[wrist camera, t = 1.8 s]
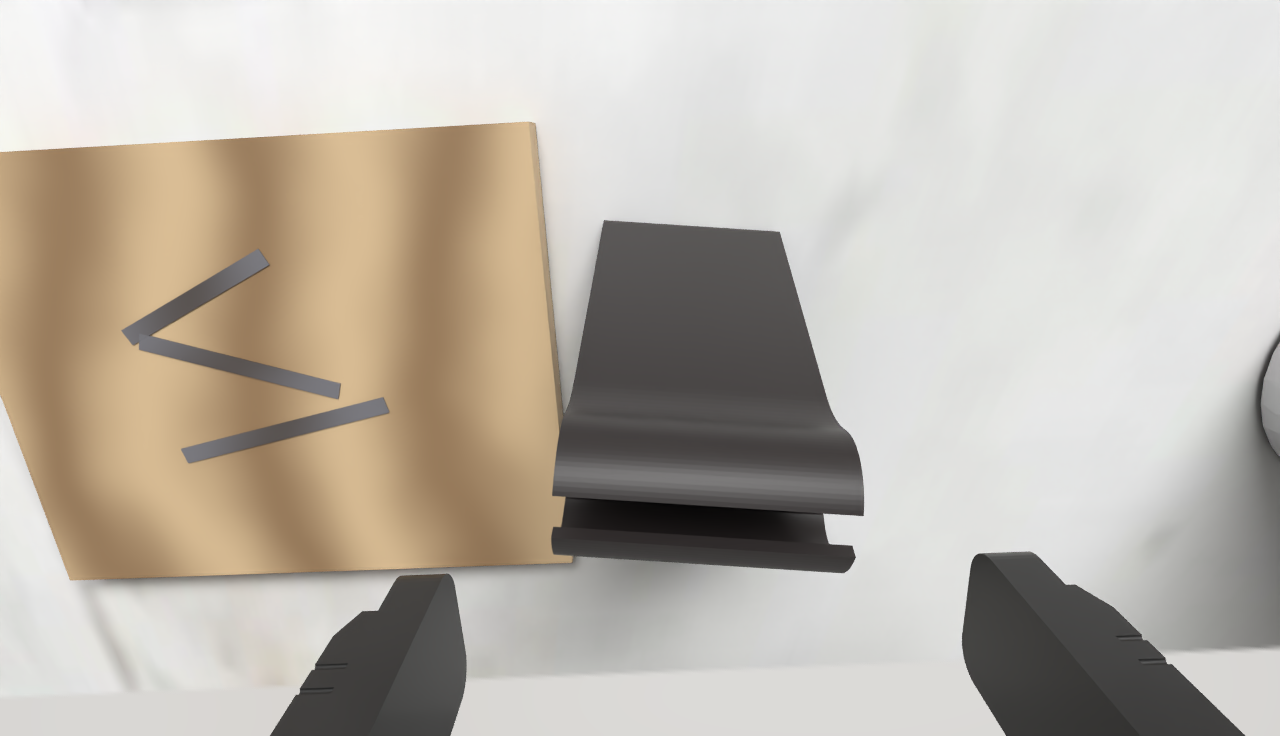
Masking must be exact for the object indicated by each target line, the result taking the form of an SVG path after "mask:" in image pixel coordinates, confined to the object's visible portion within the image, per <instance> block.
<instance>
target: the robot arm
mask: <svg viewBox="0 0 1280 736" xmlns="http://www.w3.org/2000/svg"><path fill="white" fill-rule="evenodd" d="M1261 411H1262V421H1263V427H1264V430H1265V432H1266V435H1267V437H1268V440H1269V442H1270V445H1271V447H1272V448H1273V449H1274V451H1275V452H1276V453H1277V454H1278V456H1279V457H1280V343H1279V344H1278V346H1277V348H1276V349H1275V351H1274V353H1273V355H1272V358H1271V361H1270V364H1269V366H1268V369H1267V372H1266V374H1265V377H1264V382H1263V390H1262V397H1261ZM962 648H963V655H964V659H965V663H966V666H967V670H968V672H969V675H970V677H971V679H972V681H973V683H974V684H975V686H976V688H977V689H978V691H979V692H980V694H981V696H982V697H983V699H984V701H985V702H986V704H987V705H988V707H989V709H990V710H991V712H992V713H993V715H994V717H995V718H996V720H997V721H998V723H999V725H1000V726H1001V728H1002V730H1003V731H1004V733H1005V735H1006V736H1245V735H1244V734H1243V733H1242V732H1241V731H1240V730H1239V729H1238V728H1237V727H1236V726H1235V725H1234V724H1233V723H1231V722H1230V720H1229V719H1227V718H1226V717H1225V716H1224V715H1223V714H1222V713H1221V712H1220V711H1219V710H1218V709H1217V708H1216V707H1215V706H1214V705H1213V704H1212V703H1211V702H1210V701H1209V700H1208V699H1207V698H1206V697H1205V696H1204V695H1203V694H1202V693H1201V692H1200V691H1199V690H1198V689H1197V688H1196V687H1194V686H1193V684H1191V682H1189V681H1188V680H1187V679H1186V678H1185V677H1184V676H1183V675H1182V674H1181V673H1180V672H1179V671H1178V670H1177V669H1176V668H1175V667H1174V666H1173V665H1172V664H1167V663H1166V660H1165V657H1164V656H1163V655H1162V654H1161V653H1160V652H1159V651H1158V650H1157V649H1156V648H1155V647H1154V646H1153V645H1151V644H1150V643H1149V642H1148V641H1147V640H1145V641H1143V639H1142V636H1141V634H1140V633H1139V632H1138V631H1137V630H1136V629H1135V628H1134V627H1133V626H1132V625H1131V624H1130V623H1129V622H1128V621H1127V620H1126V619H1125V618H1124V617H1123V616H1122V615H1121V614H1120V613H1119V612H1118V611H1117V610H1116V609H1115V608H1113V607H1112V606H1110V605H1109V604H1107V603H1105V602H1104V601H1102V600H1100V599H1098V598H1097V597H1095V596H1093V595H1092V594H1090V593H1088V592H1087V591H1085V590H1083V589H1082V588H1080V587H1078V586H1077V585H1065V584H1064V583H1063V582H1062V581H1061V579H1060V578H1059V577H1058V576H1057V575H1056V574H1055V573H1054V572H1053V571H1052V570H1051V569H1050V568H1049V567H1048V566H1047V565H1046V564H1045V563H1044V562H1043V561H1042V560H1041V559H1040V558H1039V557H1038V556H1037V555H1036V554H1034V553H1032V552H1007V553H983V554H977V555H976V556H975V557H974V559H973V561H972V564H971V569H970V577H969V585H968V593H967V601H966V609H965V617H964V625H963V633H962ZM465 682H466V652H465V645H464V639H463V633H462V627H461V621H460V615H459V609H458V603H457V597H456V590H455V585H454V581H453V579H452V577H451V575H449V574H433V575H409V576H400V577H398V578H397V579H396V581H395V582H394V584H393V586H392V587H391V589H390V591H389V593H388V594H387V596H386V598H385V600H384V601H383V603H382V605H381V607H380V608H379V610H378V611H362V612H361V613H360V614H359V615H358V616H356V617H355V618H354V619H353V620H352V621H350V622H349V623H348V624H347V625H346V626H345V627H343V628H342V629H341V630H340V631H339V632H338V633H336V634H335V635H334V636H333V637H332V639H331V641H330V642H329V644H328V645H327V647H326V648H325V650H324V652H323V653H322V655H321V656H320V658H319V659H318V661H317V663H316V664H315V670H311V672H310V674H309V675H308V677H307V678H306V680H305V682H304V683H303V685H302V686H301V688H300V694H299V695H296V696H295V697H294V699H293V700H292V702H291V704H290V705H289V707H288V708H287V710H286V711H285V713H284V715H283V716H282V718H281V719H280V721H279V723H278V724H277V726H276V727H275V729H274V730H273V732H272V733H271V735H270V736H450V735H451V732H452V729H453V726H454V723H455V720H456V716H457V713H458V710H459V707H460V704H461V701H462V698H463V694H464V688H465Z"/></svg>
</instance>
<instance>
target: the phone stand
mask: <svg viewBox="0 0 1280 736" xmlns="http://www.w3.org/2000/svg"><path fill="white" fill-rule="evenodd" d="M552 496H560V497H565V504H564V512H563V518H562V524H561V527H553V530H552V535H551V545H552V552H553V554H554V555H567V556H583V557H598V558H614V559H629V560H645V561H661V562H676V563H692V564H707V565H723V566H739V567H754V568H770V569H785V570H801V571H817V572H832V573H845V572H846V571H848V570H849V569H850V567H851V566H852V564H853V562H854V560H855V558H856V557H855V554H854V550H853V546H848V545H832V544H829V543H828V540H827V536H826V531H825V525H824V516H823V513H825V514H840V515H856V516H864V487H863V476H862V469H861V463H860V458H859V454H858V451H857V448H856V445H855V442H854V440H853V438H852V437H851V435H850V434H849V433H848V432H847V431H846V430H845V429H843V428H842V427H841V426H840V425H839V423H838V422H837V420H836V419H835V417H834V415H833V413H832V411H831V409H830V406H829V403H828V400H827V397H826V393H825V390H824V386H823V383H822V379H821V376H820V372H819V369H818V365H817V362H816V358H815V355H814V351H813V348H812V344H811V341H810V337H809V334H808V330H807V326H806V323H805V319H804V316H803V312H802V309H801V305H800V302H799V298H798V295H797V291H796V288H795V284H794V281H793V277H792V274H791V270H790V267H789V263H788V260H787V256H786V253H785V249H784V246H783V242H782V239H781V235H780V232H775V231H759V230H744V229H729V228H713V227H698V226H683V225H668V224H652V223H637V222H622V221H606V220H604V223H603V228H602V234H601V239H600V244H599V250H598V255H597V261H596V266H595V272H594V277H593V282H592V288H591V293H590V299H589V304H588V309H587V315H586V320H585V326H584V331H583V337H582V342H581V347H580V353H579V358H578V364H577V369H576V375H575V380H574V385H573V390H572V394H571V398H570V402H569V405H568V408H567V410H566V412H565V413H564V416H563V419H562V423H561V427H560V432H559V438H558V444H557V451H556V459H555V467H554V477H553V489H552Z"/></svg>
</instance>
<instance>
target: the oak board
mask: <svg viewBox="0 0 1280 736" xmlns="http://www.w3.org/2000/svg"><path fill="white" fill-rule="evenodd" d="M0 395H1V398H2V400H3V403H4V406H5V408H6V411H7V414H8V416H9V419H10V422H11V424H12V427H13V430H14V432H15V435H16V438H17V440H18V443H19V445H20V448H21V451H22V453H23V456H24V459H25V461H26V464H27V467H28V469H29V472H30V475H31V477H32V480H33V483H34V485H35V488H36V491H37V493H38V496H39V499H40V501H41V504H42V507H43V509H44V512H45V515H46V517H47V520H48V523H49V525H50V528H51V531H52V533H53V536H54V539H55V541H56V544H57V547H58V549H59V552H60V555H61V557H62V560H63V563H64V565H65V568H66V571H67V573H68V576H69V579H70V580H95V579H123V578H152V577H180V576H209V575H237V574H266V573H294V572H323V571H351V570H380V569H408V568H437V567H465V566H494V565H522V564H550V563H572V561H573V556H567V555H554V554H553V552H552V545H551V535H552V530H553V527H561V524H562V518H563V512H564V504H565V497H560V496H552V489H553V477H554V467H555V459H556V451H557V444H558V438H559V432H560V427H561V423H562V419H563V408H562V397H561V387H560V376H559V366H558V356H557V345H556V335H555V324H554V314H553V303H552V293H551V283H550V272H549V262H548V251H547V241H546V230H545V220H544V210H543V199H542V189H541V178H540V168H539V157H538V147H537V137H536V126H535V123H532V122H516V123H498V124H481V125H464V126H446V127H429V128H412V129H395V130H377V131H360V132H343V133H325V134H308V135H291V136H273V137H256V138H239V139H221V140H204V141H187V142H169V143H152V144H135V145H117V146H100V147H83V148H65V149H48V150H31V151H13V152H0Z"/></svg>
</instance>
